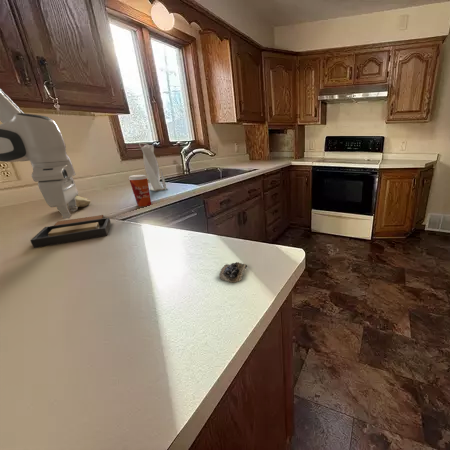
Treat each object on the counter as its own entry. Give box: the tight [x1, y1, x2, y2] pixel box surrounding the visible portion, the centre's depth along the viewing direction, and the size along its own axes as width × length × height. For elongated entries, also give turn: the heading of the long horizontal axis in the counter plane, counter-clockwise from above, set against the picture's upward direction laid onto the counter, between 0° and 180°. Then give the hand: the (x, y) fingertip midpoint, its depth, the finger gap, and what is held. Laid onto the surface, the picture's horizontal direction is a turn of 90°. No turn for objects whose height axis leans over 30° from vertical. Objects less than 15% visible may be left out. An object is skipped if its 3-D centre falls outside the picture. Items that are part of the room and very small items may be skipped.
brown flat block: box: [53, 214, 104, 226], centre depth 94 cm, size 14×10×1 cm
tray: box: [30, 217, 112, 249], centre depth 82 cm, size 18×14×3 cm
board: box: [48, 222, 100, 236], centre depth 81 cm, size 12×5×2 cm, turn 122°
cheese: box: [67, 194, 91, 211], centre depth 112 cm, size 15×7×15 cm
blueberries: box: [218, 261, 248, 284], centre depth 56 cm, size 7×8×2 cm
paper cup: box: [128, 174, 152, 207], centre depth 115 cm, size 8×8×14 cm
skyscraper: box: [138, 142, 168, 193], centre depth 147 cm, size 8×8×28 cm
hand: (71, 214), depth 80 cm, fingers open, 8 cm apart
